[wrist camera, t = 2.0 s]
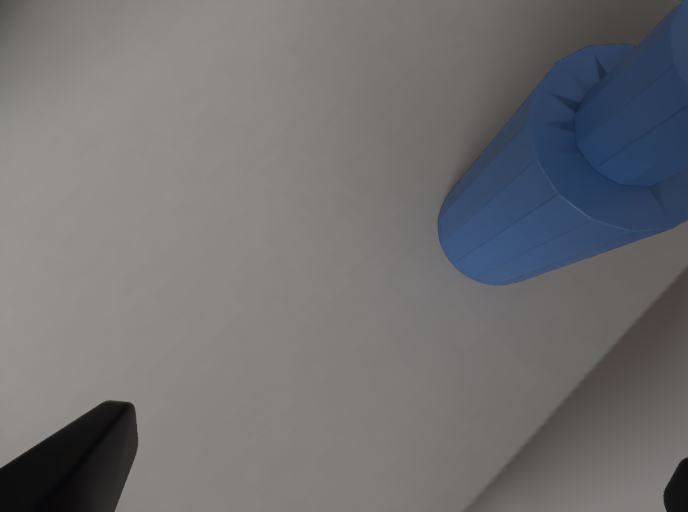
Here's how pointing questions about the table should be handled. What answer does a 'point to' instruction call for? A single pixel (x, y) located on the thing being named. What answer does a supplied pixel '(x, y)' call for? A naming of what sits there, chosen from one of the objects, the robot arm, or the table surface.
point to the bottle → (579, 163)
